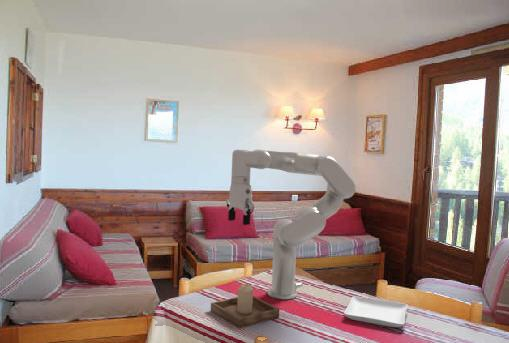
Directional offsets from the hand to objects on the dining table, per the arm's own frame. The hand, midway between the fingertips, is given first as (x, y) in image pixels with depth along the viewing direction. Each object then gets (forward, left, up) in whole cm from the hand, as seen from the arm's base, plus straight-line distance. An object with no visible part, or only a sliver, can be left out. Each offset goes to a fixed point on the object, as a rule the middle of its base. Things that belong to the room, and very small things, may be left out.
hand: (238, 222), depth 183 cm
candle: (+9, +17, -30) cm, 35 cm away
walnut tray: (+9, +18, -30) cm, 36 cm away
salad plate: (-32, +46, -31) cm, 64 cm away
